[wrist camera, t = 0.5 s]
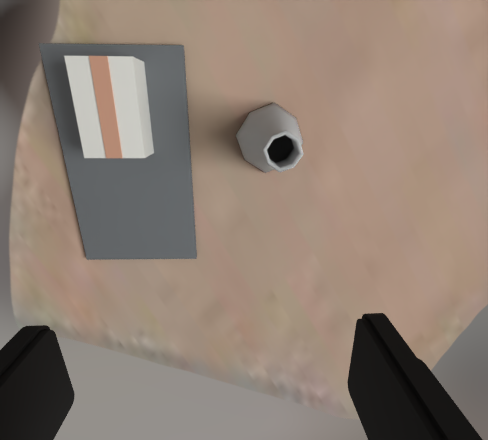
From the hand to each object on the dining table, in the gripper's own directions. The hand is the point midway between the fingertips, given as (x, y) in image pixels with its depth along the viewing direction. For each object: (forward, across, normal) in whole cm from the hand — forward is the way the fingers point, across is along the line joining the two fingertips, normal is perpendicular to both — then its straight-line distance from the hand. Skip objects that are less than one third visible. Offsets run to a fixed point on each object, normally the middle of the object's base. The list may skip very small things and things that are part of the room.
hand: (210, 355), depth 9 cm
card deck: (+26, +11, -8) cm, 29 cm away
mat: (+27, +11, -2) cm, 29 cm away
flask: (+27, -5, -4) cm, 28 cm away
